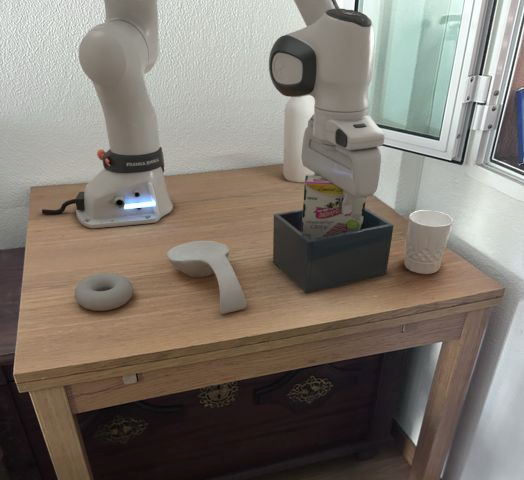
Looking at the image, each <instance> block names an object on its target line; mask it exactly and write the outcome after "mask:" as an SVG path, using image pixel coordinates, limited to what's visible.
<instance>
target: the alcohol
mask: <svg viewBox="0 0 524 480" xmlns="http://www.w3.org/2000/svg"><path fill="white" fill-rule="evenodd" d="M314 106H315V99H314V97H313V96H310V95H307V96H302V97H289V99H288V100H287V102H286V103H285V108H284V117H283V118H284V120H283V121H284V123H283V163H282V165H283V167H282V168H283V169H282V175H283V177H284V179H285V180H287V181H288V182H292V183H305V176H306V175H314V172H313V171H311V170H309V169H308V168H306V167H304V166H303V164H302V159H301V154H302V144H303V137H304V132H305V129H306V128H307V127H308V121H309V119H310V118H311V117H312V115H314Z"/></svg>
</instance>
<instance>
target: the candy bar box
mask: <svg viewBox="0 0 524 480" xmlns="http://www.w3.org/2000/svg"><path fill="white" fill-rule="evenodd" d="M303 188H304V189H303V200H302V201H303V202H302V209H303V216H302V231H301V233H302V234H304V235H305V236H306V237H307V238H309V239H310V240H311V239H316V238H321V237H326V236H331V235H336V234H341V233H346V232H351V231H356V230H361V229H362V225H363V217H364V210H365V208H366V202H367V197H362V198H356V199H355V201H354V203H353V204H352V212H351V213H350V214H345V215H344V214H343V213H341V212H340V211H339V202H343V199H344V197H345V196H344V195H343V189H341V188H339V187H338V186H336V185H334V184H333V183H331V182H329V181H328V180H326V179H324V178H323V177H321V176H319V175H306V176H305V182H304V186H303Z"/></svg>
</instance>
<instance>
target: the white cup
mask: <svg viewBox="0 0 524 480" xmlns="http://www.w3.org/2000/svg"><path fill="white" fill-rule="evenodd" d="M453 222H454V218H453V217H452V216H451V215H449V214H448V213H445V212H443V211H438V210H434V209H433V210H432V209H420V210H415V211H412V212H411V213H409V216H408V223H407V231H406V238H405V239H406V240H405V255H404V260H403V261H404V262H403V264H404V267H405V268H406V269H407V270H408V271H410V272H412V273H416V274H420V275H421V274H422V275H431V274H434V273H437V272H439V270H440V268H441V264H442V260H443V257H444V256H445V251H446V248H447V245H448V241H449V237H450V234H451V231H452V226H453Z"/></svg>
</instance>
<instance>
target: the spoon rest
mask: <svg viewBox="0 0 524 480" xmlns="http://www.w3.org/2000/svg"><path fill="white" fill-rule="evenodd" d="M229 255H230V248H229V247H228V246H227V244H224V243H222V242H219V241H214V240H195V241H189V242H184V243H181V244H178V245H176V246H173V247H172V248H170V249H168V251H167V253H166V259H167V260H168V262H169V263H170V264H171V266H173V267H174V268H175V269H176V270H178V271H180V272H182V273H183V274H185V275H187V276H188V277H192V278H205V277H206V278H207V277H209V276H211V275H213V274H214V276H215V277H216V280H217V284H218V288H219V289H218V290H219V313H220V314H221V315H224V314H225V315H226V314H230V313H233V312H238V311H242V310H245V309H246V308H247V303H246V298H245V294H244V291H243V288H242V286H241V284H240V282H239V279H238V277H237V275H236V273H235V271H234V268H233V266H232V264H231V263H230V260H229V258H228V257H229Z"/></svg>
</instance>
